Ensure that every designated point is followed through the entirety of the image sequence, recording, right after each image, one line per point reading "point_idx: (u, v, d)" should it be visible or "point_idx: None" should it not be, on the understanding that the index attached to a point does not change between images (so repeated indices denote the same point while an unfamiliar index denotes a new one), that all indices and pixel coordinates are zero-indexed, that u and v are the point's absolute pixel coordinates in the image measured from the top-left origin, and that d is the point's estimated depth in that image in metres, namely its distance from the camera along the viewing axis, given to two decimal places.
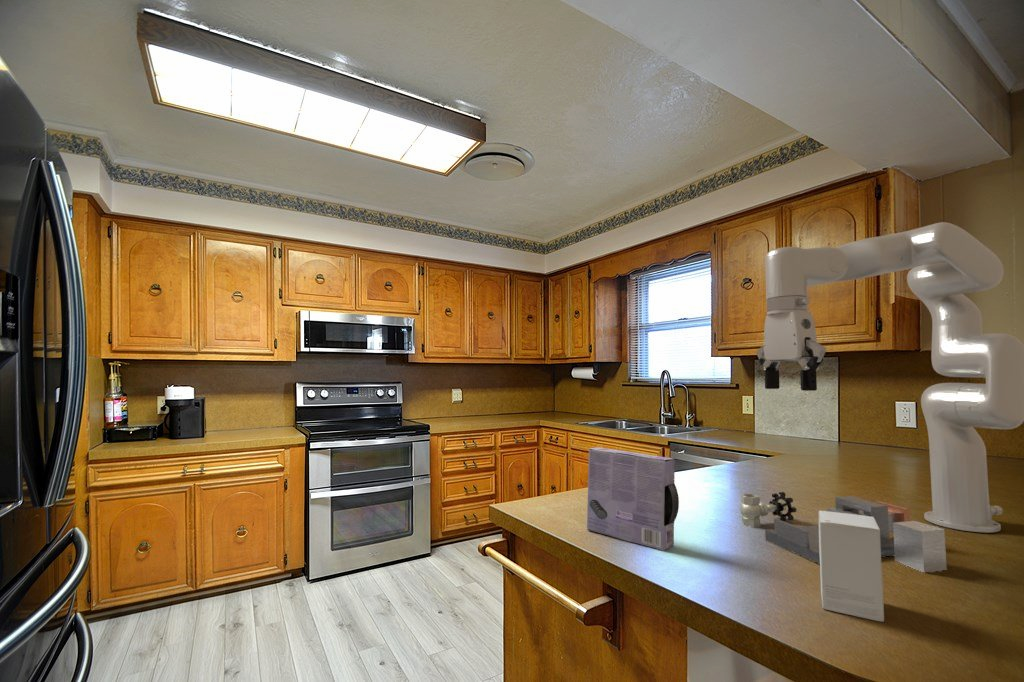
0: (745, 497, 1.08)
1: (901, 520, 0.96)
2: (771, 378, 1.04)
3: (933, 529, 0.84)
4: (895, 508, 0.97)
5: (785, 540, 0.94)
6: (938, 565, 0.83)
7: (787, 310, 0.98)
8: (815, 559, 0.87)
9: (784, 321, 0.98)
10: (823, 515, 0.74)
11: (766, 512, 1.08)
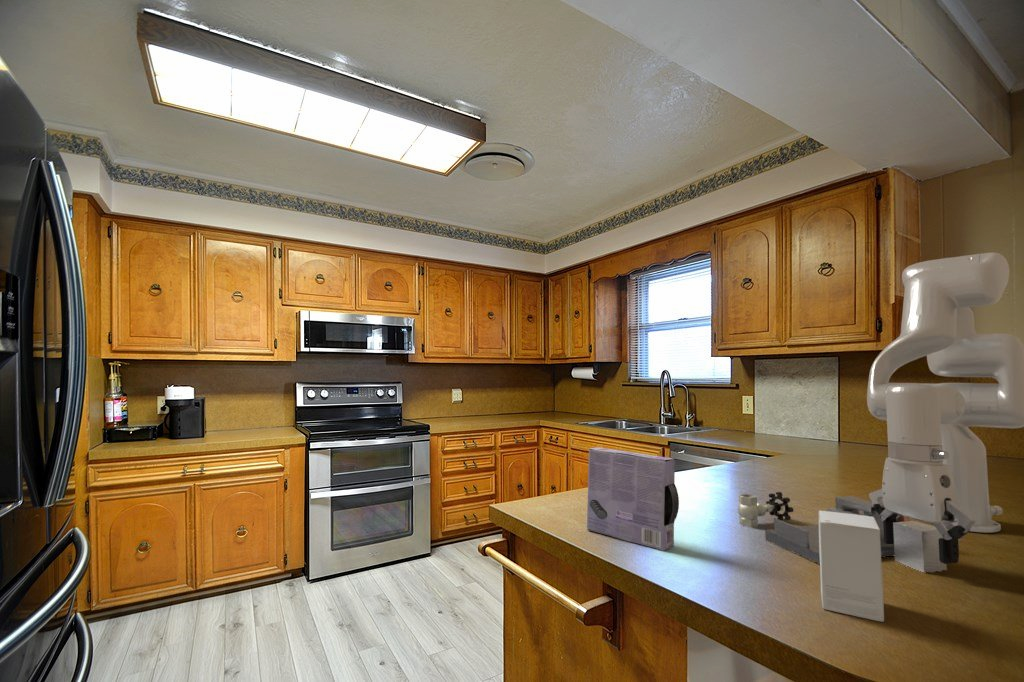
0: (743, 497, 1.08)
1: (901, 520, 0.96)
2: (892, 532, 0.89)
3: (933, 529, 0.84)
4: None
5: (785, 540, 0.94)
6: (938, 565, 0.83)
7: (920, 462, 0.83)
8: (815, 559, 0.87)
9: (915, 474, 0.84)
10: (823, 515, 0.74)
11: (763, 512, 1.08)
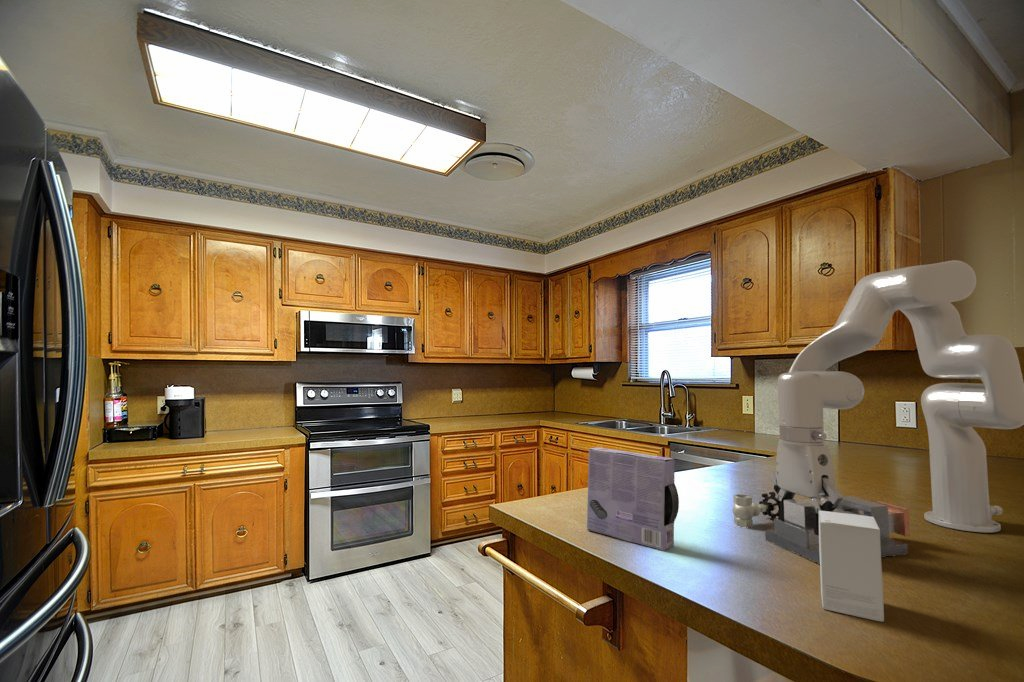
0: (738, 498, 1.08)
1: (901, 520, 0.96)
2: None
3: None
4: (895, 508, 0.97)
5: (785, 540, 0.94)
6: None
7: (802, 443, 0.91)
8: (815, 559, 0.87)
9: (799, 454, 0.92)
10: (823, 515, 0.74)
11: (758, 512, 1.08)
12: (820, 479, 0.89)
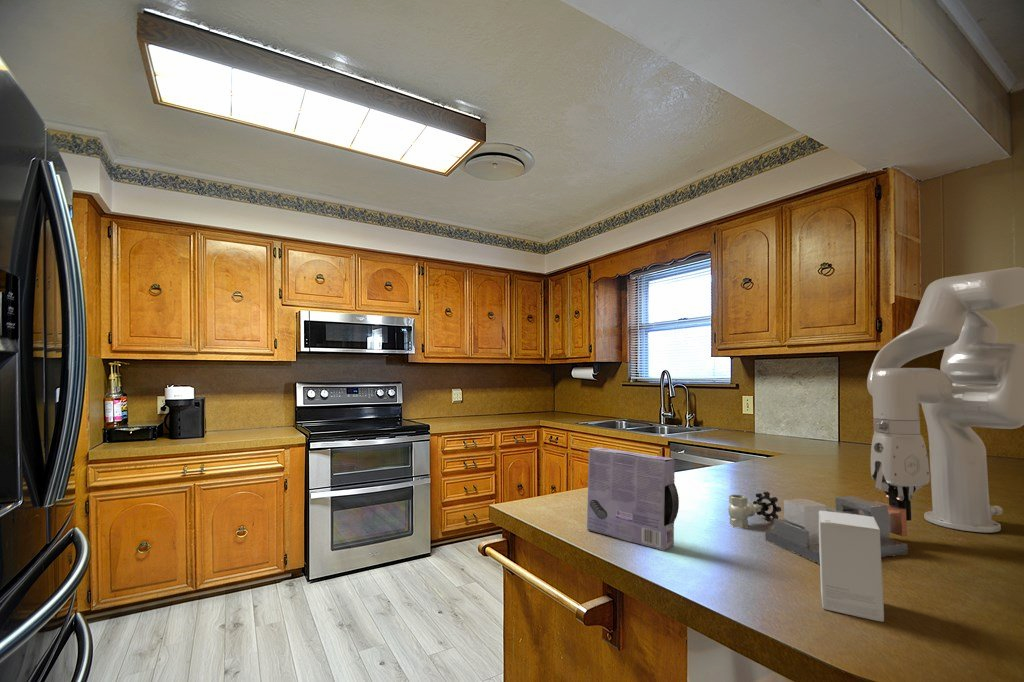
0: (734, 498, 1.07)
1: (898, 521, 0.96)
2: None
3: (816, 505, 0.92)
4: (892, 508, 0.97)
5: (785, 540, 0.94)
6: None
7: (874, 432, 1.01)
8: (815, 559, 0.87)
9: None
10: (823, 515, 0.74)
11: (753, 512, 1.08)
12: (874, 464, 0.99)
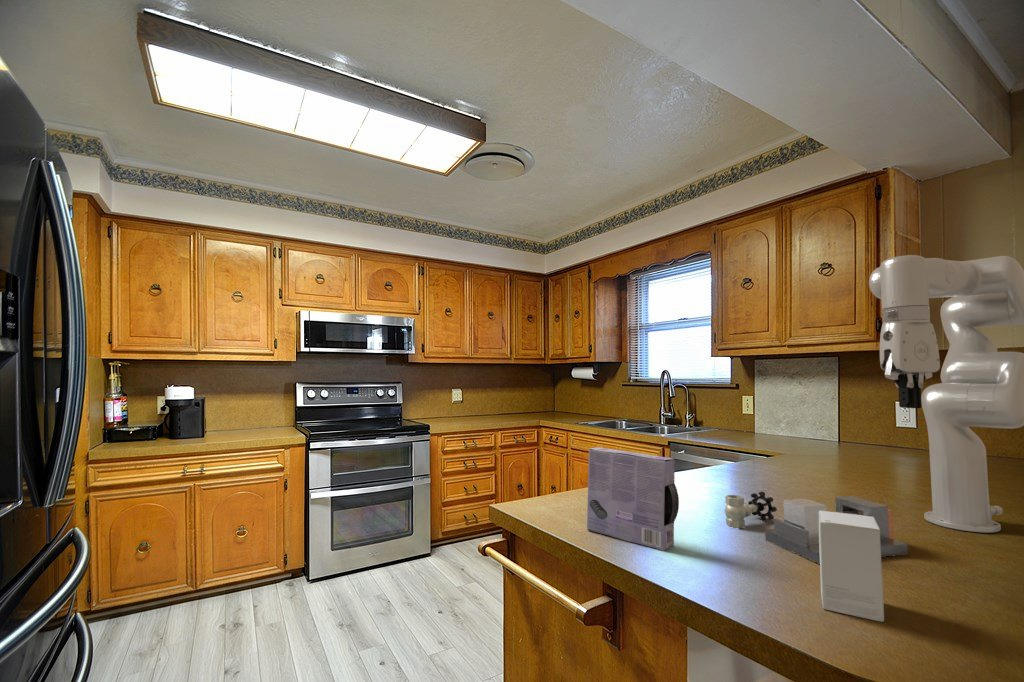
0: (730, 499, 1.07)
1: None
2: None
3: (815, 505, 0.92)
4: None
5: (785, 540, 0.94)
6: None
7: (883, 323, 1.00)
8: (815, 559, 0.87)
9: None
10: (823, 515, 0.74)
11: (749, 513, 1.08)
12: (883, 353, 0.98)
